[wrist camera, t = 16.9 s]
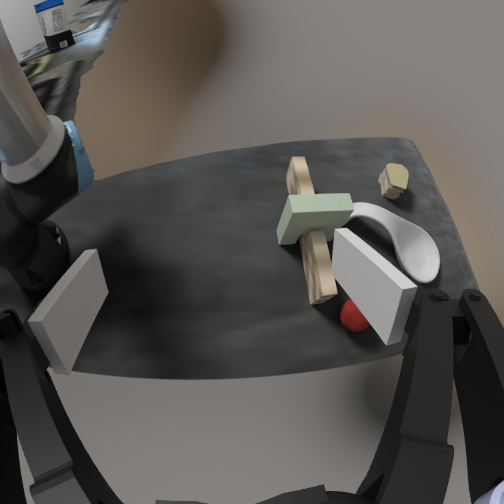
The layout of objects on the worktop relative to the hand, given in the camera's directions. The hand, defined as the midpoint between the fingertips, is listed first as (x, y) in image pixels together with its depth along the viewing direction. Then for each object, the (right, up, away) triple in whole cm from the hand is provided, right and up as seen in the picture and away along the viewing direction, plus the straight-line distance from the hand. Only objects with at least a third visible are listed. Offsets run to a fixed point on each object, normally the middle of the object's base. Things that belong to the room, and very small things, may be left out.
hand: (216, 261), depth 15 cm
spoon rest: (+30, +2, +39) cm, 49 cm away
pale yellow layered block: (+33, +15, +45) cm, 58 cm away
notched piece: (+11, +3, +38) cm, 39 cm away
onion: (+19, -11, +33) cm, 39 cm away
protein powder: (-91, +100, +67) cm, 151 cm away
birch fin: (+12, +4, +38) cm, 39 cm away
